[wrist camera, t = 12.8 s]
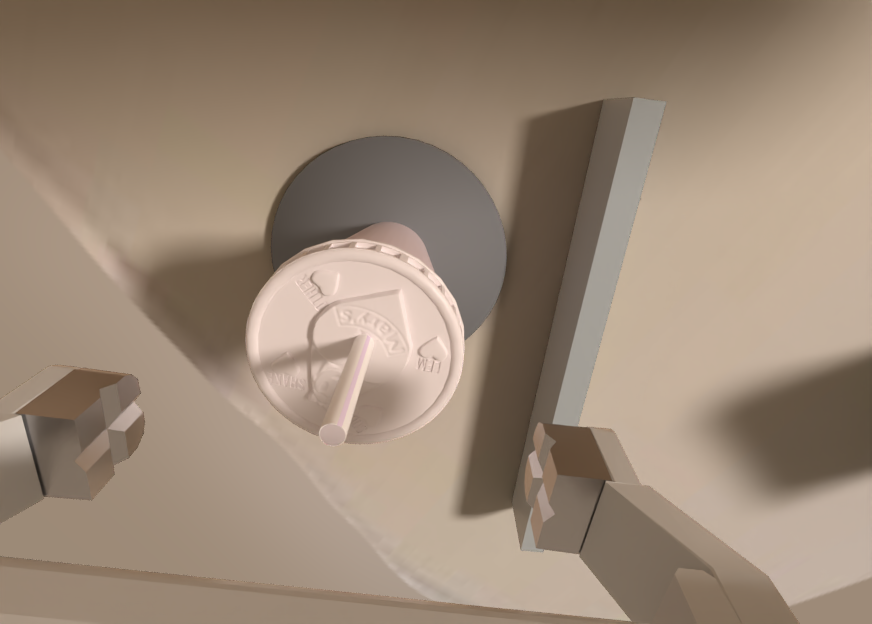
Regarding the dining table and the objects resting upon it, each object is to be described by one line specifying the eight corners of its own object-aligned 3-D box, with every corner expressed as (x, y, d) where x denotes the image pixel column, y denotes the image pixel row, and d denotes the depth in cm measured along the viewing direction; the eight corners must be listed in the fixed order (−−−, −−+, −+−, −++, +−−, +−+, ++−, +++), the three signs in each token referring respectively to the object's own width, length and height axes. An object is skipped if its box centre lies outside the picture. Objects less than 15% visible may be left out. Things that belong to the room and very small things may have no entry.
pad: (273, 120, 21) (269, 121, 21) (525, 152, 22) (526, 153, 21) (275, 347, 25) (272, 352, 25) (485, 370, 26) (486, 375, 25)
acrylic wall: (603, 99, 21) (633, 97, 18) (631, 103, 21) (666, 101, 18) (511, 501, 29) (520, 550, 26) (531, 503, 29) (543, 552, 26)
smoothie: (484, 245, 23) (541, 422, 10) (407, 347, 25) (368, 607, 12) (366, 161, 21) (248, 237, 8) (295, 276, 23) (110, 482, 10)
